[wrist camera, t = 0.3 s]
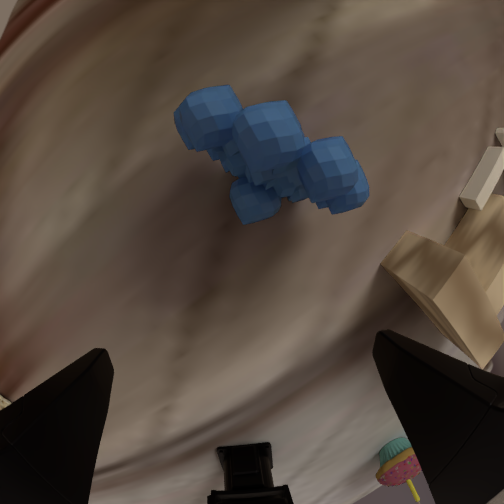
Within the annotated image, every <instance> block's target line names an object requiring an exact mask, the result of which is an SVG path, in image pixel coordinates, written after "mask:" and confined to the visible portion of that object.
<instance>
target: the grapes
mask: <svg viewBox="0 0 504 504" xmlns="http://www.w3.org/2000/svg"><path fill="white" fill-rule="evenodd" d="M174 120H175V125H176V128H177V131H178V132H179V134H180V136H181V138H182V140H183V141H184V143H185V145H186V146H187V148H188V150H190V149H196V151H197V152H198V151H203V150H207V152H208V154H209V155H210V157H211V159H212V160H213V161H214V160H219V159H220V161H221V164H222V166H223V168H224V170H225V172H226V173H227V172H228V171H230V172H231V174H232V176H235V177H236V176H238V178H239V179H238V180H236V181H234V182H233V183H232V185H231V189H230V196H229V197H230V200H231V203H232V205H233V208H234V210H235V212H236V214H237V215H238V217H239V219H240V220H241V222H242V224H243V225H245V224H250V223H255V222H258V221H261V220H265V219H267V218H269V217H272V216H273V215H275V214H276V213H277V212H278V211H279V209H280V207H281V198H282V197H287V198H288V200H289V201H292V203H294V202H298V201H301V200H304V199H306V198H310V200H311V202H312V203H315V202H316V204H317V206H318V209H321V208H327V207H329V209H330V212H331V214H338V213H343V212H346V211H349V210H352V209H355V208H358V207H361V206H362V205H363V204H364V203H365V201H366V200H367V199H368V197H369V185H368V182H367V179H366V176H365V174H364V172H363V169H362V168H361V166H360V164H359V162H358V161H357V160H355V159H354V157H353V154H352V152H351V150H350V148H349V146H348V144H347V143H346V141H345V140H344V138H343V136H339V137H330V138H324V139H318V140H316V141H314V142H312V143H311V142H310V140H309V138H308V137H304V134H303V132H302V129H301V125H300V123H299V121H298V119H297V117H296V116H295V114H294V112H293V110H292V109H291V107H290V106H289V104H288V102H287V101H286V100H283V101H270V102H265V103H261V104H257V105H253V106H249V107H246V108H244V109H243V108H242V106H241V104H240V102H239V100H238V98H237V96H236V94H235V93H234V91H233V90H232V88H231V86H230V85H223V86H214V87H208V88H203V89H200V90H197V91H194V92H191V93H190V94H189V95H188V96H187V97H186V98H185V100H184V101H183V102H182V103H181V104H180V105H179V107H178V108H177V109H176V111H175V112H174Z"/></svg>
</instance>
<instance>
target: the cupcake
mask: <svg viewBox="0 0 504 504" xmlns="http://www.w3.org/2000/svg"><path fill="white" fill-rule="evenodd" d="M379 455H380V469H379V470H378V472H377V473H376V478H377V480H378V482H379V483H380V484H382V485H385V486H396V485H400V484H403V483H405V482H407V484H408V486H409V488H410V490H411V492H412V494H413V496H414V498H415V500H416V502H418V503H419V504H420V502H419V500H420V498H419V496H418V494H417V492H416V490H415V488H414V486H413V484H412V482H411V479H413V478H414V477H415V476H416V475H418V474H419V473H420V472H421V471H422V469H421V467H420V464H419V462H418V460H417V457H416V455H415V453H414V451H413V448H412V446H411V444H410V442H409V441H408V440H407V439H406V438H398V439H395V440H393V441H391V442H389V443H388V444H386V445H385V446H384V447H383V448H382V449H381V451H380V453H379Z"/></svg>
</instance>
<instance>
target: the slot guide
mask: <svg viewBox="0 0 504 504" xmlns="http://www.w3.org/2000/svg"><path fill="white" fill-rule="evenodd" d="M495 134H496V136H497V138H498V140H499V142H500V144H501V145H502V147H493V146H488V148H487V149H486V151H485V153H484V155H483V157H482V159H481V161H480V162H479V164H478V166H477V168H476V169H475V171H474V173H473V175H472V176H471V178H470V180H469V181H468V183H467V185H466V186H465V188H464V190H463V191H462V193H461V194H460V196H459V198H460V199H461V201H462V203H463V204H464V206H465V207H467V208H471V209H475V210H479V211H482V209H483V207H484V205H485V204H486V202H487V200H488V198H489V196H490V195H491V193H492V191H493V189H494V187H495V185H496V183H497V181H498V179H499V177H500V176H501V173H502V171H503V169H504V128H497V130H496V132H495Z"/></svg>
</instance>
